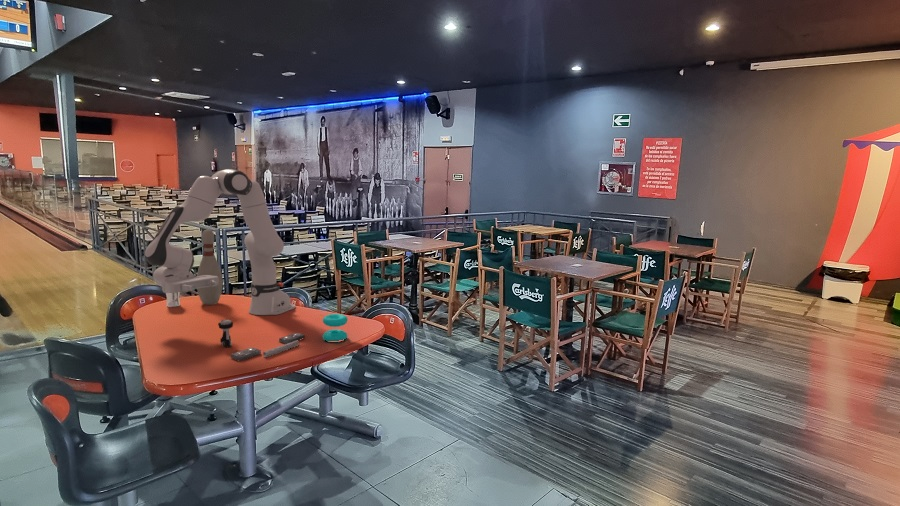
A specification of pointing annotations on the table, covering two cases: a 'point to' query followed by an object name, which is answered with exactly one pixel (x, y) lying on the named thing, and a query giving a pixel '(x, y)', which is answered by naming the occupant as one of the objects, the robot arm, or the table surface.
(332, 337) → the donuts
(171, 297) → the beer glass
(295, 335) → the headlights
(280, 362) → the table surface
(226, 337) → the push button
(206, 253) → the bowling pin
